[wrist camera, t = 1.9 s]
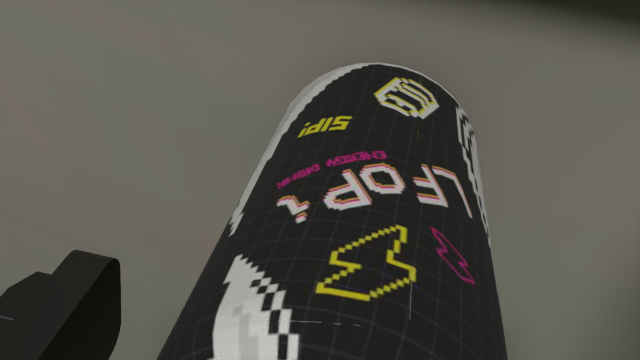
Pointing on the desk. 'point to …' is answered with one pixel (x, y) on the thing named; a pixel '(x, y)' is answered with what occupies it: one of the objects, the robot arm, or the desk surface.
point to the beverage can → (354, 235)
